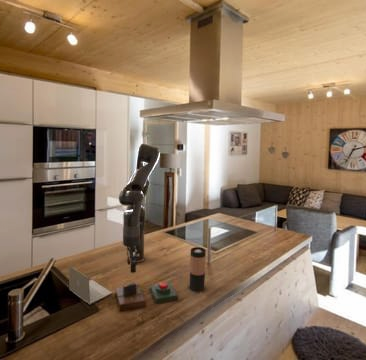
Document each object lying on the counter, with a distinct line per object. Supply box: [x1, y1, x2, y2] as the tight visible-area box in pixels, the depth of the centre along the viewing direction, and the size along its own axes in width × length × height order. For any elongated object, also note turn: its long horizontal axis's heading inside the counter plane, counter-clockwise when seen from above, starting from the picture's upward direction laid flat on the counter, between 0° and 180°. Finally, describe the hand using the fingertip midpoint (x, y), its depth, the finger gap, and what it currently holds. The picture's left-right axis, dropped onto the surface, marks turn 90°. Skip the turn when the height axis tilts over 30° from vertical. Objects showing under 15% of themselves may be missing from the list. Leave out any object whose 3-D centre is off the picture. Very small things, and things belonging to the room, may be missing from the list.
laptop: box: [68, 265, 113, 305], centre depth 135 cm, size 18×12×13 cm
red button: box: [159, 281, 168, 289], centre depth 134 cm, size 4×4×2 cm
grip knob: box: [122, 282, 138, 297], centre depth 129 cm, size 6×2×5 cm, turn 122°
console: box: [115, 284, 146, 312], centre depth 130 cm, size 14×11×3 cm
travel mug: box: [189, 246, 207, 292], centre depth 140 cm, size 8×8×20 cm
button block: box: [149, 282, 178, 304], centre depth 135 cm, size 12×10×4 cm
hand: (131, 268), depth 128 cm, fingers open, 8 cm apart
